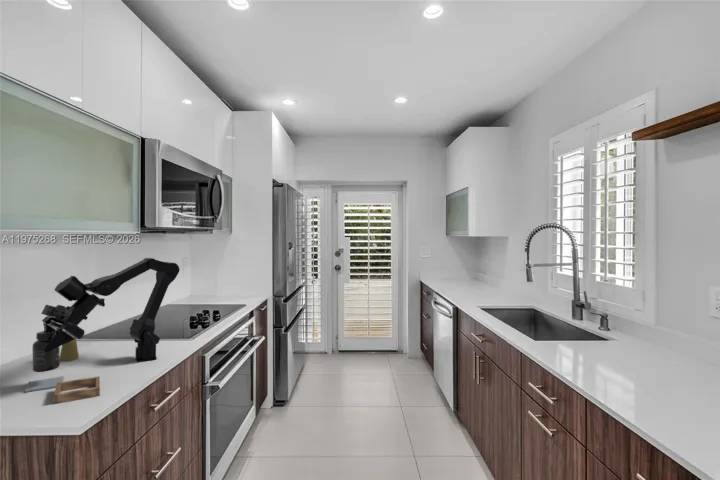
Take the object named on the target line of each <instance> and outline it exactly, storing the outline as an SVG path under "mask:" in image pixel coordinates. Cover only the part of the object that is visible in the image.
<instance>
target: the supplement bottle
mask: <svg viewBox="0 0 720 480" xmlns="http://www.w3.org/2000/svg"><path fill="white" fill-rule="evenodd" d="M55 335H56V331H54V330H49V331H44V330H42V331H39V332H36V337H35V339H36V341H33V343H32V371H33V372H35V373H44V372H50V371H53V370H56V369H58V368H59V367H60V364H61V363H60V362H61V361H60V354H61V349H60V348H61V346H59V347H57V348H55V349H53V350H51V351H49V352H45V351H44V350H45V348H46V347H47V345H48V344H49V343H50V342H51V340H52V339H53V338H54V337H55Z"/></svg>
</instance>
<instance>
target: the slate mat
mask: <svg viewBox="0 0 720 480" xmlns="http://www.w3.org/2000/svg"><path fill="white" fill-rule="evenodd" d="M64 378H65V376H58V377H51V378H43V379H38V380H37V379H36V380H30V381H28V382H27V385H26V387H25V389H24V393H32V392H37V391H38V392H39V391H44V390H49V389H51V390H52V389H56V385H57V383H59V382H64Z"/></svg>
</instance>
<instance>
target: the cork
mask: <svg viewBox="0 0 720 480" xmlns="http://www.w3.org/2000/svg"><path fill="white" fill-rule="evenodd" d="M74 338H75V340H72V341H70V342H68V343H65V344H63V345H61V349H60V362H63V363H64V362H72V361H76V360H78V359H79V358H80V355H79V350H78V344H77V343H78V342H77V338H76V337H74Z"/></svg>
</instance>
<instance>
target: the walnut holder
mask: <svg viewBox="0 0 720 480" xmlns="http://www.w3.org/2000/svg"><path fill="white" fill-rule="evenodd" d="M100 378H101V377H100V376H98V375H97V376H93V377H85V378H80V379H73V380H66V381H65V380H64V381H63V382H59V383H57V385H56V388H54V393H53V405H55V404H61V403H68V402H71V401H78V400H85V399H89V398H95V397H100V396H101V395H100V393H101V381H100ZM94 386H95V387H94ZM89 387H90V388H89ZM77 389H78V390H77ZM70 390H72V391H70ZM65 391H66V392H65Z"/></svg>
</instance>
